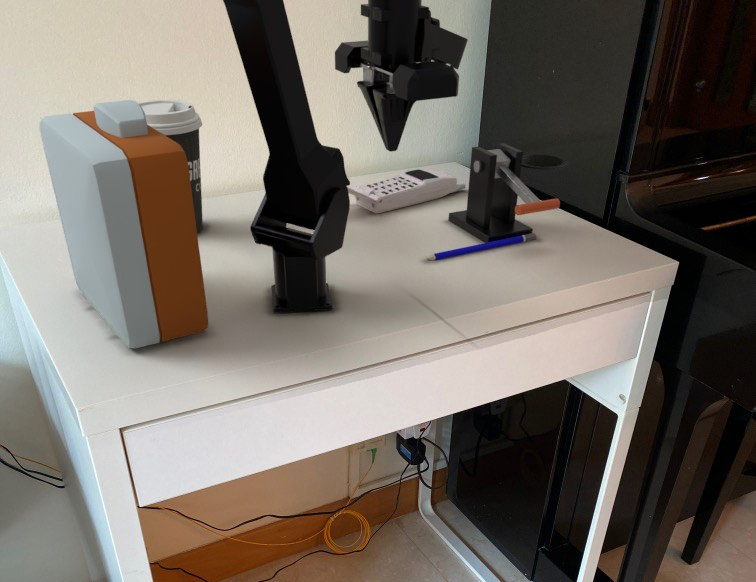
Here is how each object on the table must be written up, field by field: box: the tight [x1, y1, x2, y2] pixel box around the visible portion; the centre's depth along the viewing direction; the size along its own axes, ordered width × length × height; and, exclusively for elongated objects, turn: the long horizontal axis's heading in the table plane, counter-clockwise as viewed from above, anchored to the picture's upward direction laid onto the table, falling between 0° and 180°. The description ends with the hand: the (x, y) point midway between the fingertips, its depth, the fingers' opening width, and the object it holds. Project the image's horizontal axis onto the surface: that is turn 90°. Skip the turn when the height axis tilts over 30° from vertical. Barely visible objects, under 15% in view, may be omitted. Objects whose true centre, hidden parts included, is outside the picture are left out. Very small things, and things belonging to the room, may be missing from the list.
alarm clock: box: [39, 99, 209, 349], centre depth 79 cm, size 18×9×21 cm, turn 33°
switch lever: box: [486, 148, 561, 216], centre depth 99 cm, size 12×6×2 cm, turn 27°
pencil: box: [426, 232, 537, 261], centre depth 101 cm, size 17×1×1 cm, turn 119°
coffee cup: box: [137, 99, 204, 235], centre depth 101 cm, size 10×10×15 cm
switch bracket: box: [448, 142, 534, 243], centre depth 104 cm, size 10×7×10 cm
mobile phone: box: [347, 168, 467, 214], centre depth 113 cm, size 6×6×25 cm
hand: (391, 150), depth 93 cm, fingers closed
